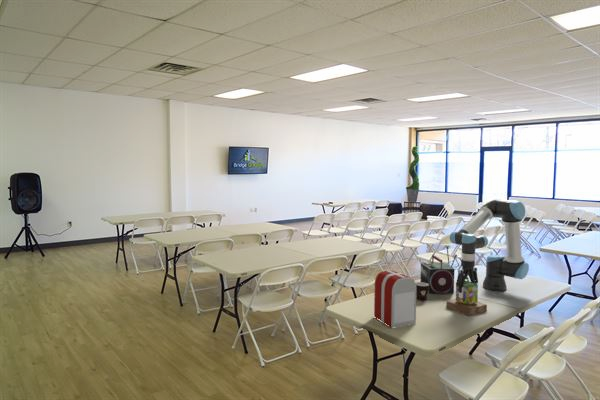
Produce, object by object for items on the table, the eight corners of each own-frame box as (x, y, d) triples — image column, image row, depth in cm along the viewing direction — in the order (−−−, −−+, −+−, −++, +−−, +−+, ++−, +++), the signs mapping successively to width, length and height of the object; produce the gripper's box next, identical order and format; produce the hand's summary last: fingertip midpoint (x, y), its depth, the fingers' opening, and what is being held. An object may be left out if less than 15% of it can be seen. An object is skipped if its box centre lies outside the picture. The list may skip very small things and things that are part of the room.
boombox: (418, 285, 284) (419, 245, 281) (446, 285, 285) (447, 244, 282) (427, 294, 266) (428, 250, 263) (457, 293, 267) (459, 250, 264)
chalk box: (467, 305, 232) (468, 281, 231) (455, 301, 240) (455, 277, 239) (478, 302, 236) (478, 278, 235) (465, 297, 245) (465, 274, 243)
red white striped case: (391, 328, 210) (392, 279, 208) (373, 317, 227) (373, 271, 224) (416, 323, 217) (417, 276, 214) (396, 312, 233) (397, 268, 231)
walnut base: (464, 302, 249) (464, 296, 249) (486, 311, 235) (486, 304, 235) (446, 307, 242) (446, 300, 242) (468, 315, 228) (468, 309, 227)
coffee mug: (429, 298, 258) (429, 283, 257) (427, 302, 251) (427, 286, 250) (410, 295, 263) (411, 280, 262) (408, 299, 255) (409, 284, 255)
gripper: (475, 256, 244) (473, 291, 246) (450, 260, 234) (448, 297, 236) (485, 259, 237) (484, 295, 240) (460, 263, 227) (459, 301, 230)
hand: (466, 296), depth 238 cm, fingers open, 9 cm apart
